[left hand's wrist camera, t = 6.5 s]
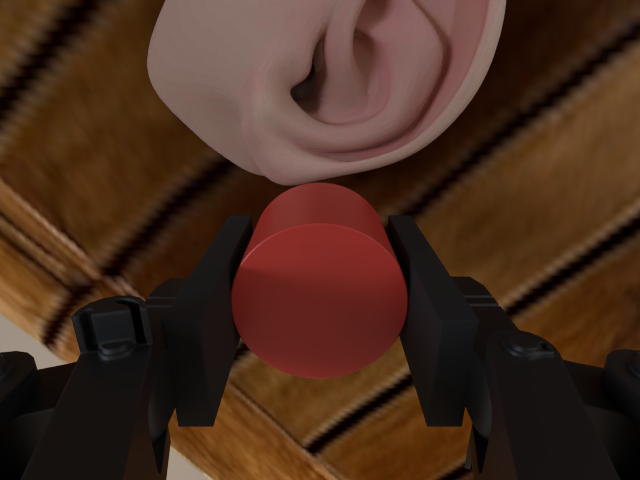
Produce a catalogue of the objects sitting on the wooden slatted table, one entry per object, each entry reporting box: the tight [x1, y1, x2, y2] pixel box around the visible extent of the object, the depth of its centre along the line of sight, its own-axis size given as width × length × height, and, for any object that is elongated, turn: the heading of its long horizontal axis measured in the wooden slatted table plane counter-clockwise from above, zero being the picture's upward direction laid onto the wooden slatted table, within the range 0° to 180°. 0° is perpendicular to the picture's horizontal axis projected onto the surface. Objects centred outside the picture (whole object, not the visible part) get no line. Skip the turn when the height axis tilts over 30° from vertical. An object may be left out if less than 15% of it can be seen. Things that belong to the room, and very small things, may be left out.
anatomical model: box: [147, 0, 506, 185], centre depth 16 cm, size 13×4×12 cm
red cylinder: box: [231, 183, 408, 378], centre depth 13 cm, size 5×5×4 cm
